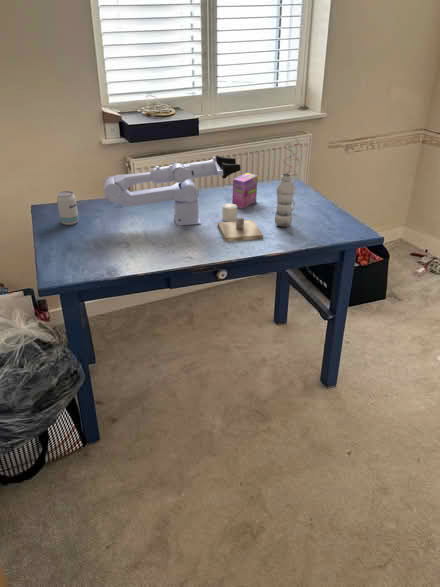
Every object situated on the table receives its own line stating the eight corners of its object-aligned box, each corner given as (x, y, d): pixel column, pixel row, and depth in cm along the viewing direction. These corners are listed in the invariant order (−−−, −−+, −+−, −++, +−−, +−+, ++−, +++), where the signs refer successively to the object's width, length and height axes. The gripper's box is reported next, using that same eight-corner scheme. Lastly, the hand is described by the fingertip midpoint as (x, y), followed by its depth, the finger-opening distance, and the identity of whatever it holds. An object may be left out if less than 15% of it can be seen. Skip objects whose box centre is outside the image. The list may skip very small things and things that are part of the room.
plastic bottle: (290, 229, 193) (295, 178, 183) (273, 227, 195) (276, 177, 184) (292, 222, 199) (296, 173, 188) (275, 221, 200) (278, 172, 190)
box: (242, 208, 211) (243, 181, 205) (231, 205, 214) (232, 178, 208) (256, 201, 218) (258, 175, 212) (245, 198, 221) (246, 172, 215)
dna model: (294, 215, 205) (301, 140, 190) (278, 214, 206) (284, 139, 191) (294, 209, 211) (301, 136, 195) (279, 208, 212) (284, 135, 196)
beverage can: (72, 227, 193) (68, 197, 187) (57, 225, 195) (52, 195, 189) (82, 220, 199) (78, 191, 193) (67, 218, 201) (62, 189, 194)
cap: (224, 222, 199) (224, 209, 196) (221, 216, 203) (221, 204, 201) (237, 221, 200) (238, 208, 197) (234, 215, 204) (234, 203, 201)
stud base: (225, 241, 184) (225, 227, 181) (217, 226, 196) (217, 212, 193) (262, 238, 186) (263, 224, 184) (252, 223, 198) (253, 210, 195)
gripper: (205, 164, 182) (241, 159, 183) (198, 153, 194) (232, 148, 196) (207, 183, 185) (242, 178, 187) (200, 171, 197) (233, 166, 199)
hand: (237, 164), depth 192 cm, fingers open, 7 cm apart
